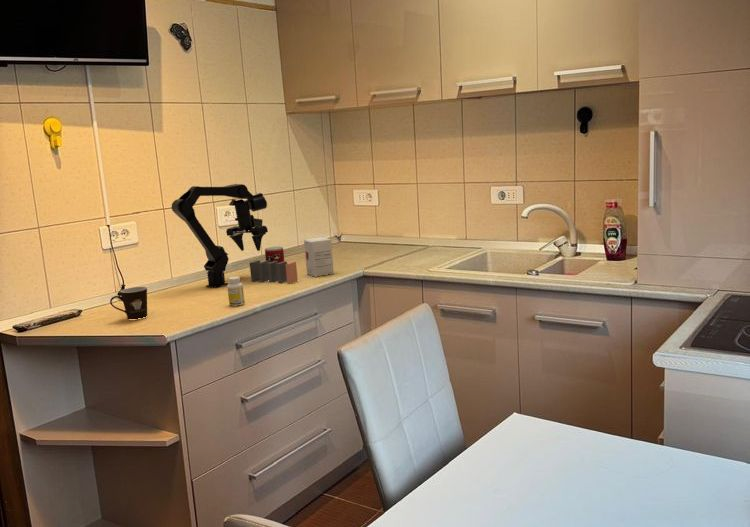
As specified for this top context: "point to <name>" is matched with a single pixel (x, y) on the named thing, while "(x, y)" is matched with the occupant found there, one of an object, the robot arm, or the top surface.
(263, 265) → the domino
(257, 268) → the domino
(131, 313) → the coffee mug
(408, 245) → the top surface
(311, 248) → the supplement box
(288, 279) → the domino
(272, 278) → the domino
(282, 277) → the domino
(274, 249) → the canned food
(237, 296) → the supplement bottle
